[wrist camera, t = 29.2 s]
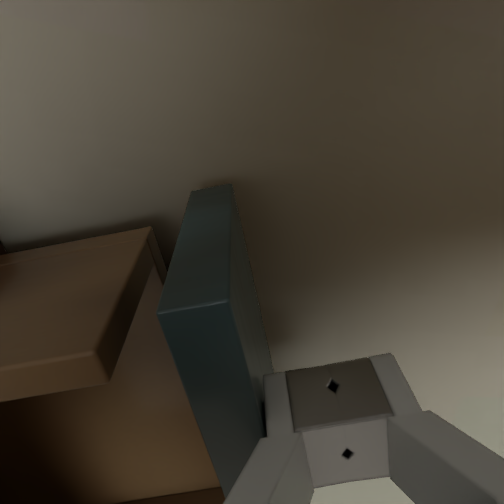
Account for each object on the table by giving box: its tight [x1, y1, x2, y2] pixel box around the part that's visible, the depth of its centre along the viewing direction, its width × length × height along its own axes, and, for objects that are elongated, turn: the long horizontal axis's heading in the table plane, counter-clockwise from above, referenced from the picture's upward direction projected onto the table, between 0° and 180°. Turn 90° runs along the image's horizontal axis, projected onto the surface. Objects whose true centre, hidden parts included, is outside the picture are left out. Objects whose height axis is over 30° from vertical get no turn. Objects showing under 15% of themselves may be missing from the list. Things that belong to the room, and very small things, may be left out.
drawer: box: [0, 184, 274, 504], centre depth 12 cm, size 15×13×6 cm
